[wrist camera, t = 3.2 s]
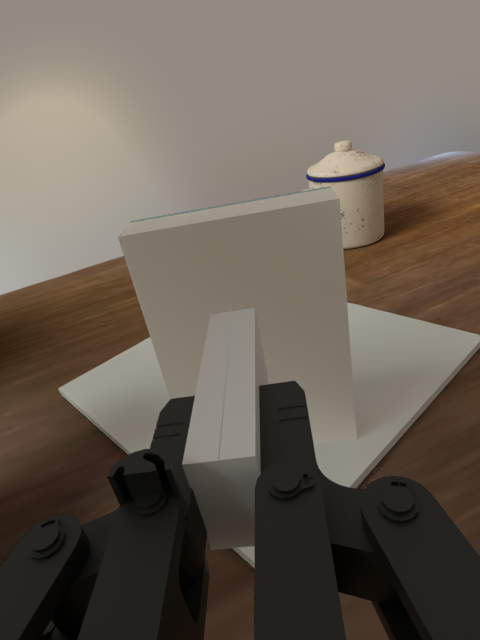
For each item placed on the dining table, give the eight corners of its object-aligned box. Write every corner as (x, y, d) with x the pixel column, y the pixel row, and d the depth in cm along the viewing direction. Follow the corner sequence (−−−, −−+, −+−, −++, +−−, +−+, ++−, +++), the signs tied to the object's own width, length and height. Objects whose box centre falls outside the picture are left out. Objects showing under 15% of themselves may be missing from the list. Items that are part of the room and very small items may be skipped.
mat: (60, 394, 36) (57, 388, 36) (254, 284, 49) (253, 279, 49) (271, 584, 20) (269, 576, 19) (483, 343, 32) (484, 336, 32)
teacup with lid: (361, 221, 61) (357, 132, 56) (401, 237, 53) (401, 135, 48) (282, 243, 59) (269, 153, 54) (311, 263, 51) (300, 159, 46)
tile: (357, 438, 26) (339, 198, 19) (189, 458, 27) (118, 236, 20) (348, 410, 28) (330, 186, 21) (194, 429, 29) (131, 221, 22)
